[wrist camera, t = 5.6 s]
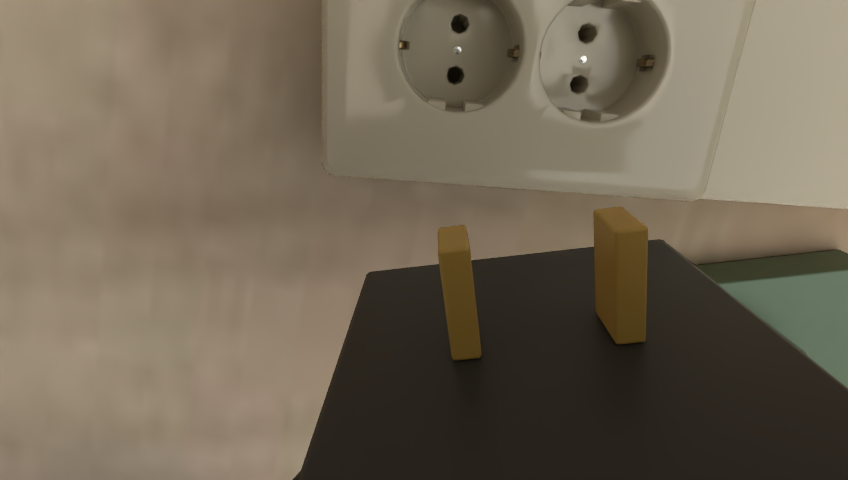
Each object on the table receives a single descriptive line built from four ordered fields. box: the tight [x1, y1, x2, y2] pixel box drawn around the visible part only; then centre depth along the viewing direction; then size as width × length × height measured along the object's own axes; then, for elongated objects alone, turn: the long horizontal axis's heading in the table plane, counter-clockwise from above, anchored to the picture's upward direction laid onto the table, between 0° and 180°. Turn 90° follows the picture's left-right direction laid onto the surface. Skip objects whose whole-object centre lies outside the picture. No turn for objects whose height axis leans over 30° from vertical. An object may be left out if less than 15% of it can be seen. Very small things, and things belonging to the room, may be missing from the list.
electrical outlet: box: [322, 0, 848, 209], centre depth 14 cm, size 7×4×18 cm
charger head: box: [298, 207, 848, 480], centre depth 6 cm, size 4×6×5 cm
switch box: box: [696, 250, 848, 388], centre depth 18 cm, size 12×9×4 cm
